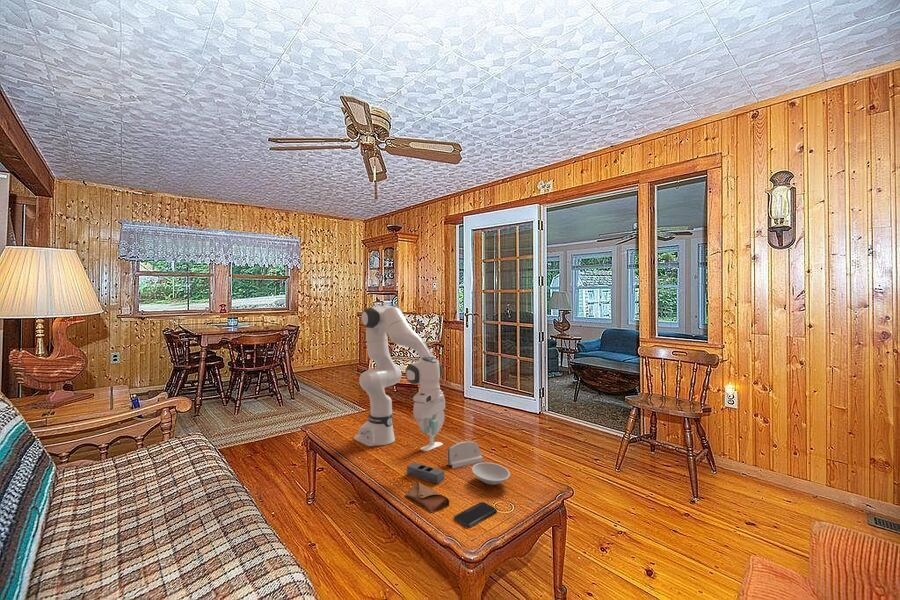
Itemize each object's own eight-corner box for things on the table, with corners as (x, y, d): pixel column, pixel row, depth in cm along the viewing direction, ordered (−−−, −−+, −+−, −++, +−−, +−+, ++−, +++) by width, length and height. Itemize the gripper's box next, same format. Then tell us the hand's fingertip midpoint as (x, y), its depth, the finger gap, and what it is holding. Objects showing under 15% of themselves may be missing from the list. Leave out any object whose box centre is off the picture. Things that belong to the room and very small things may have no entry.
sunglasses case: (401, 495, 153) (408, 477, 155) (413, 499, 157) (420, 481, 160) (433, 514, 140) (440, 494, 143) (445, 517, 145) (451, 498, 147)
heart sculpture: (438, 440, 210) (438, 406, 209) (445, 443, 206) (445, 408, 206) (417, 449, 198) (417, 413, 198) (424, 452, 195) (424, 415, 195)
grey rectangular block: (407, 474, 171) (407, 466, 171) (413, 470, 175) (413, 462, 175) (437, 483, 162) (437, 475, 162) (444, 479, 166) (444, 470, 166)
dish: (518, 487, 160) (518, 474, 160) (490, 497, 152) (490, 484, 152) (491, 470, 175) (491, 459, 174) (464, 479, 167) (464, 467, 167)
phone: (498, 509, 142) (468, 526, 132) (498, 512, 142) (468, 529, 132) (482, 501, 148) (452, 516, 138) (482, 504, 148) (452, 519, 138)
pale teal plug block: (423, 433, 177) (423, 419, 177) (427, 431, 179) (427, 417, 179) (434, 435, 174) (434, 421, 174) (437, 433, 176) (437, 420, 176)
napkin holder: (452, 468, 177) (448, 445, 179) (447, 468, 181) (444, 445, 183) (484, 461, 184) (480, 438, 187) (479, 461, 188) (475, 439, 191)
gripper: (437, 388, 187) (437, 417, 187) (410, 398, 169) (411, 430, 170) (448, 389, 183) (448, 419, 184) (422, 400, 166) (423, 433, 166)
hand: (430, 424), depth 177 cm, fingers closed on pale teal plug block, 3 cm apart
